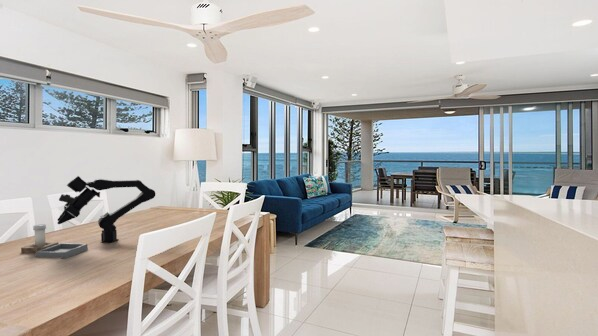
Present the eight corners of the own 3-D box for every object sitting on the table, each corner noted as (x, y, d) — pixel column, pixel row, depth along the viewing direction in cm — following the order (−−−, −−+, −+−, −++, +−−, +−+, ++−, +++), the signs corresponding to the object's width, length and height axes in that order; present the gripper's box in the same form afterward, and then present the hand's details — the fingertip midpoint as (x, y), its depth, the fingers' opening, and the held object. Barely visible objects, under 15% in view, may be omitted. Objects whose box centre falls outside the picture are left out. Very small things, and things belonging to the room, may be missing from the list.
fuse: (49, 248, 157) (48, 224, 157) (40, 251, 152) (39, 226, 152) (40, 248, 157) (39, 224, 157) (31, 251, 153) (30, 226, 152)
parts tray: (87, 249, 157) (87, 243, 157) (64, 258, 144) (64, 252, 143) (60, 248, 158) (60, 243, 158) (35, 258, 144) (35, 251, 144)
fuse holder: (58, 248, 160) (58, 242, 159) (41, 254, 150) (41, 248, 149) (39, 247, 160) (39, 241, 160) (21, 254, 150) (21, 247, 150)
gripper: (69, 186, 169) (43, 209, 162) (70, 189, 154) (42, 215, 148) (87, 200, 174) (63, 222, 167) (90, 204, 159) (63, 229, 153)
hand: (58, 222), depth 159 cm, fingers open, 9 cm apart
